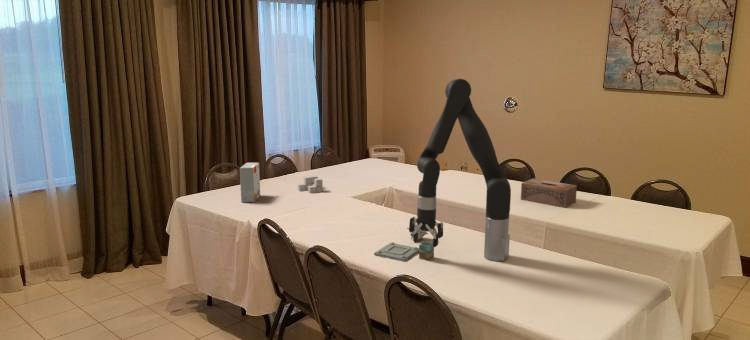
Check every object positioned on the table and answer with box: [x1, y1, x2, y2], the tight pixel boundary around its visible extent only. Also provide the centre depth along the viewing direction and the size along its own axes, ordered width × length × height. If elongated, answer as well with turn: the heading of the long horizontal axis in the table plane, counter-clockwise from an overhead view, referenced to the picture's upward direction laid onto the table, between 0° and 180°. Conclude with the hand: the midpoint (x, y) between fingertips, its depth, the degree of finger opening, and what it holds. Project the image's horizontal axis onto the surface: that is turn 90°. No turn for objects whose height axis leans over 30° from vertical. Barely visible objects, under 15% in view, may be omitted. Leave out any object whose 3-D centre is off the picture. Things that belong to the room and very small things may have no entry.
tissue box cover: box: [520, 178, 578, 209], centre depth 300 cm, size 26×14×10 cm, turn 49°
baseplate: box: [373, 241, 419, 262], centre depth 224 cm, size 14×14×2 cm
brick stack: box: [418, 241, 435, 262], centre depth 218 cm, size 4×4×6 cm
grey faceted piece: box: [406, 222, 429, 242], centre depth 240 cm, size 9×8×10 cm
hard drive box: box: [239, 162, 261, 203], centre depth 306 cm, size 16×8×20 cm, turn 179°
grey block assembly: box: [297, 175, 324, 194], centre depth 325 cm, size 12×12×8 cm
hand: (425, 244), depth 218 cm, fingers open, 8 cm apart
